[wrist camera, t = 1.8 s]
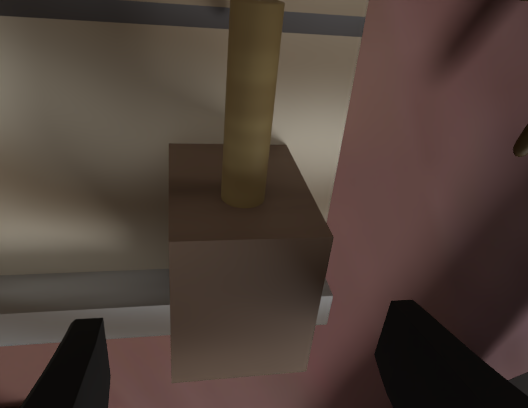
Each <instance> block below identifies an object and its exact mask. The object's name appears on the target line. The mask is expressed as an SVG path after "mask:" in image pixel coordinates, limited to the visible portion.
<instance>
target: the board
mask: <svg viewBox="0 0 528 408" xmlns="http://www.w3.org/2000/svg"><path fill="white" fill-rule="evenodd" d="M279 1H282V2H284V3H285V7H284V16H283V26H282V35H281V45H280V55H279V64H278V74H277V83H276V93H275V102H274V112H273V122H272V131H271V141H270V145H287V147H288V149H289V151H290V153H291V155H292V157H293V159H294V161H295V163H296V165H297V166H298V168H299V170H300V172H301V174H302V176H303V178H304V180H305V182H306V184H307V186H308V188H309V190H310V192H311V194H312V196H313V198H314V200H315V202H316V204H317V206H318V208H319V210H320V211H321V213H322V215H323V217H324V219H325V221H326V222H327V216H328V211H329V206H330V201H331V195H332V190H333V185H334V180H335V175H336V169H337V164H338V159H339V154H340V148H341V143H342V138H343V133H344V127H345V122H346V117H347V112H348V106H349V101H350V96H351V91H352V85H353V80H354V75H355V70H356V64H357V59H358V54H359V49H360V43H361V38H362V33H363V28H364V23H365V17H366V12H367V7H368V2H369V0H279ZM229 14H230V0H0V346H13V345H28V344H43V343H57V342H61V341H62V339H63V337H64V335H65V334H66V332H67V330H68V328H69V326H70V324H71V323H72V322H73V321H74V320H75V319H87V318H103V320H104V328H105V336H106V339H117V338H131V337H146V336H161V335H171V333H170V288H169V242H168V238H169V143H176V144H223V141H224V120H225V99H226V77H227V56H228V35H229ZM332 298H333V295H332V292H331V290H330V288H329V285H328V283H327V281H326V278H325V281H324V286H323V291H322V296H321V301H320V306H319V311H318V316H317V320H316V325H324V324H327V321H328V316H329V312H330V307H331V303H332Z"/></svg>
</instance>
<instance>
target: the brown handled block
mask: <svg viewBox="0 0 528 408" xmlns="http://www.w3.org/2000/svg"><path fill="white" fill-rule="evenodd" d="M284 7H285V3H284V2H282V1H279V0H230V14H229V35H228V56H227V77H226V99H225V120H224V141H223V144H176V143H169V238H168V242H169V288H170V333H171V378H172V383H180V382H191V381H203V380H214V379H225V378H237V377H248V376H260V375H271V374H283V373H294V372H305V371H306V369H307V364H308V360H309V355H310V350H311V345H312V340H313V335H314V330H315V325H316V320H317V316H318V311H319V306H320V301H321V296H322V291H323V286H324V281H325V276H326V272H327V267H328V262H329V257H330V252H331V247H332V242H333V235H332V233H331V231H330V229H329V227H328V225H327V223H326V221H325V219H324V217H323V215H322V213H321V211H320V210H319V208H318V206H317V204H316V202H315V200H314V198H313V196H312V194H311V192H310V190H309V188H308V186H307V184H306V182H305V180H304V178H303V176H302V174H301V172H300V170H299V168H298V166H297V165H296V163H295V161H294V159H293V157H292V155H291V153H290V151H289V149H288V147H287V145H270V141H271V131H272V122H273V112H274V102H275V93H276V83H277V74H278V64H279V55H280V45H281V35H282V26H283V16H284Z"/></svg>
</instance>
